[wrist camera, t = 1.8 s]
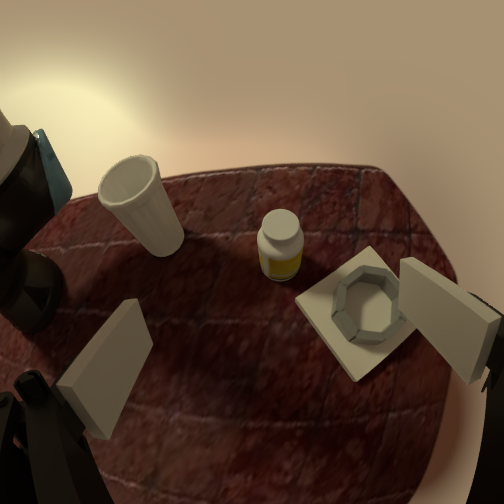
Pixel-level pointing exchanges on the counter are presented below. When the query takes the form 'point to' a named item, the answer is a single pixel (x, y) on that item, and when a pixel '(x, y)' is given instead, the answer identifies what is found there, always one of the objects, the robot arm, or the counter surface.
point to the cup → (142, 204)
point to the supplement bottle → (280, 245)
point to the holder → (358, 313)
